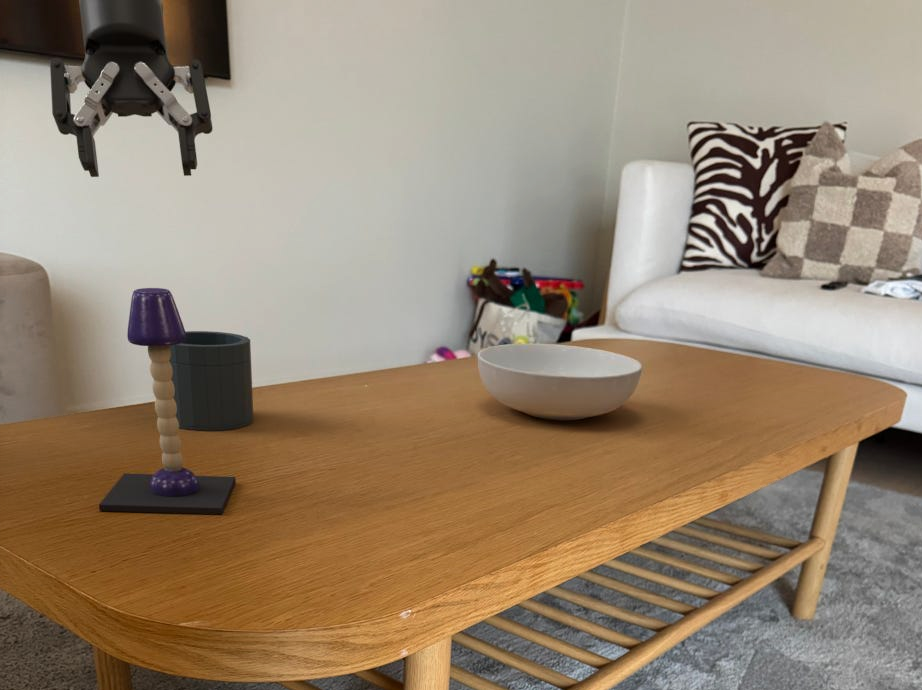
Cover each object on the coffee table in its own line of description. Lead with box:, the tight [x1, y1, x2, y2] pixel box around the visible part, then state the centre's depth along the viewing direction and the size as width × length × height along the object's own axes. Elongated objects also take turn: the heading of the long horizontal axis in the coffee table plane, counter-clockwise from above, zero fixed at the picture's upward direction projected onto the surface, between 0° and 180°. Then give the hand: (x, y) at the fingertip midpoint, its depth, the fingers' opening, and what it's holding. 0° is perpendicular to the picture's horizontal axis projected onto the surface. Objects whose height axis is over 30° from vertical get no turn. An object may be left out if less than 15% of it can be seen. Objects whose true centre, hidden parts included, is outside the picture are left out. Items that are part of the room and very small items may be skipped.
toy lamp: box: [126, 287, 200, 496], centre depth 81 cm, size 5×5×17 cm
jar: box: [169, 330, 254, 432], centre depth 107 cm, size 10×10×9 cm
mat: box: [98, 472, 237, 515], centre depth 84 cm, size 10×9×1 cm
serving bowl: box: [477, 343, 643, 421], centre depth 122 cm, size 21×21×7 cm
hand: (140, 172), depth 91 cm, fingers open, 8 cm apart
